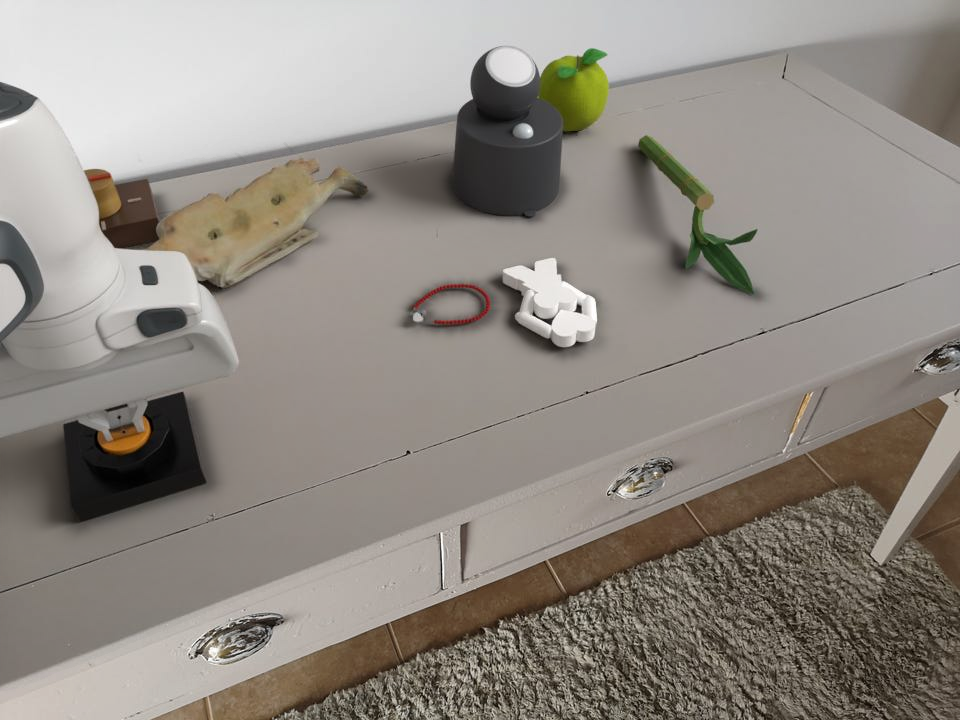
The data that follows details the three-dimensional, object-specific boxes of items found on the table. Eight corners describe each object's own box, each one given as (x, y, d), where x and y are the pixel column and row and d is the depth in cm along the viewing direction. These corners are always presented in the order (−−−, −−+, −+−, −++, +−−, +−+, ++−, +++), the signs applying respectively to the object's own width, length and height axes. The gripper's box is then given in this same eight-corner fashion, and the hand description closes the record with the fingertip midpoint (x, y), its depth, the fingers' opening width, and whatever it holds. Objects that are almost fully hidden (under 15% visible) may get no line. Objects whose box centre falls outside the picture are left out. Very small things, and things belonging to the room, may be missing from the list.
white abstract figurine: (538, 355, 76) (539, 338, 75) (491, 288, 84) (491, 272, 83) (617, 333, 79) (620, 316, 77) (564, 270, 87) (565, 254, 86)
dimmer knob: (80, 222, 84) (67, 193, 81) (77, 199, 86) (65, 170, 84) (123, 214, 85) (112, 185, 82) (119, 192, 88) (109, 163, 85)
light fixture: (486, 103, 78) (435, 42, 87) (480, 230, 90) (436, 165, 99) (601, 81, 82) (541, 25, 91) (581, 206, 94) (530, 145, 103)
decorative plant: (675, 131, 102) (790, 231, 78) (658, 190, 107) (761, 302, 83) (632, 127, 101) (735, 227, 77) (616, 187, 105) (709, 299, 81)
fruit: (616, 128, 107) (629, 58, 99) (568, 151, 102) (578, 79, 95) (569, 101, 111) (578, 32, 104) (521, 122, 107) (527, 51, 100)
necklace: (417, 335, 78) (417, 328, 77) (401, 297, 82) (400, 290, 81) (498, 317, 80) (498, 310, 79) (478, 280, 84) (479, 273, 83)
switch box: (80, 522, 62) (62, 495, 59) (71, 439, 68) (54, 410, 65) (207, 483, 65) (195, 455, 62) (189, 406, 71) (178, 377, 68)
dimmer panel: (59, 263, 84) (48, 240, 81) (54, 218, 89) (43, 195, 87) (165, 240, 87) (157, 217, 84) (154, 198, 92) (146, 175, 90)
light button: (106, 469, 63) (99, 457, 62) (101, 433, 66) (95, 420, 64) (157, 454, 64) (152, 441, 63) (151, 419, 67) (145, 406, 65)
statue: (315, 150, 95) (104, 294, 82) (317, 109, 89) (89, 258, 75) (375, 204, 94) (171, 359, 80) (382, 167, 87) (161, 328, 74)
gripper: (-111, 381, 48) (-15, 502, 59) (222, 300, 54) (257, 423, 65) (-104, 316, 52) (-15, 440, 62) (206, 247, 58) (241, 370, 68)
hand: (125, 430), depth 64 cm, fingers closed, pressing on light button
